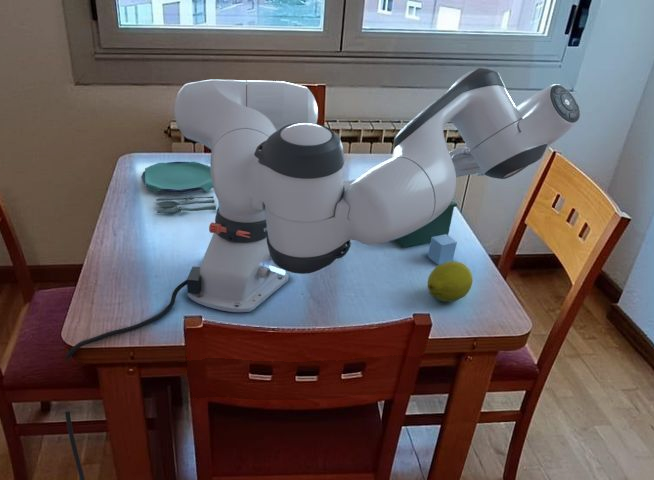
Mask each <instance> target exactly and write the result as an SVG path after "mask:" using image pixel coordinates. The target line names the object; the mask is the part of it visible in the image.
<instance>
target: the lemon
mask: <svg viewBox="0 0 654 480" xmlns="http://www.w3.org/2000/svg"><path fill="white" fill-rule="evenodd" d="M472 284H473V275H472V272H471V269H469V267H468V266H467V265H466V264H465V263H463V262H460V261H458V260H457V261H455V260H453V261H449V262H445V263H442V264H440V265H437V266H436V267H435V268H434V269H433V270H432V271H431V272H430V274H429V275H428V278H427V288H428V292H429V293H430V294H431V296H433V297H434V298H435V299H437V300H438V301H441V302H447V303H448V302H449V303H450V302H456V301H459V300H460V299H462V298H464V297H465V296H466V295H467V294H468V293H469V292H470V290H471V288H472Z"/></svg>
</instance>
